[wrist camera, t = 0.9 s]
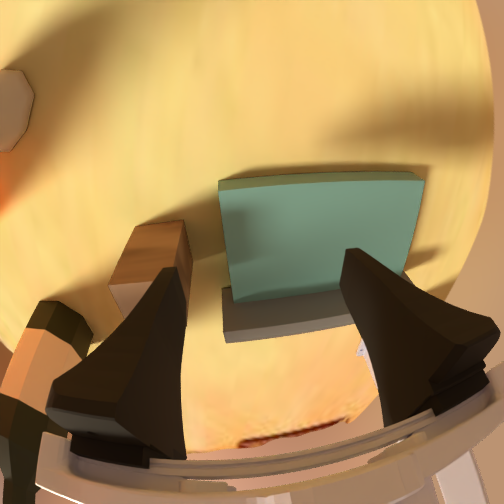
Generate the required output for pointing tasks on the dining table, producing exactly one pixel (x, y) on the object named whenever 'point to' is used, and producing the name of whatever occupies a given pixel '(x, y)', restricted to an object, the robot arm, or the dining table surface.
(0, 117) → the flask
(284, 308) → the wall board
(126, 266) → the walnut block
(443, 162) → the dining table surface
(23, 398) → the wine bottle
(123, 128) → the dining table surface
